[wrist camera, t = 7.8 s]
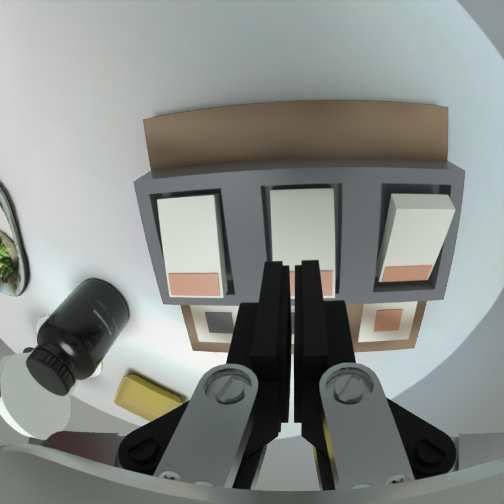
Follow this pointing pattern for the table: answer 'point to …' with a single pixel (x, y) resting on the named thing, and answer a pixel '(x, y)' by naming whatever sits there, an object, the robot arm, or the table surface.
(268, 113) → the board
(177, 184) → the switch housing
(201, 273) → the rocker
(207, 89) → the table surface
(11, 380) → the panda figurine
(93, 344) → the supplement bottle
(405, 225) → the rocker
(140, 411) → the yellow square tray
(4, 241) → the salad plate
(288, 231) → the rocker
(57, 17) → the table surface
